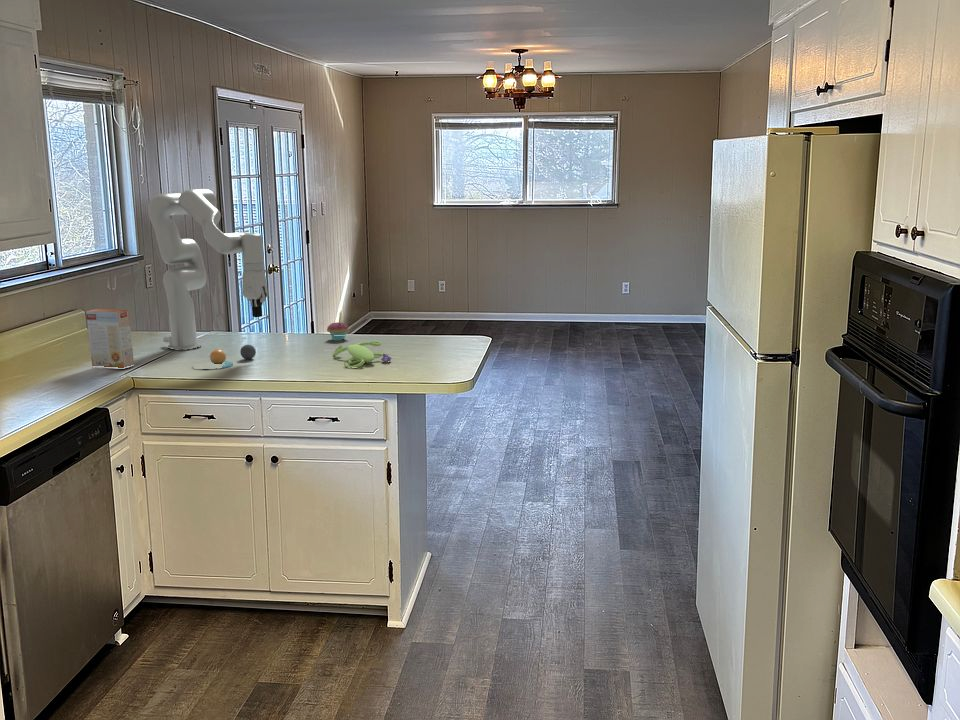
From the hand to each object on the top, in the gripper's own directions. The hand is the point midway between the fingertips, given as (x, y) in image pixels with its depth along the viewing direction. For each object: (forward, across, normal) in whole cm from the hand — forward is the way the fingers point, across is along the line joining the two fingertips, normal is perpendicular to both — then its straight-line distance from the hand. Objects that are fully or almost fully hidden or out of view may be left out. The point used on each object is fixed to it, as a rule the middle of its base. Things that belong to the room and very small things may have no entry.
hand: (257, 316), depth 328 cm
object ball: (+12, 0, -18) cm, 21 cm away
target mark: (+15, 0, -20) cm, 25 cm away
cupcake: (+15, -2, +39) cm, 42 cm away
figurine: (+16, +34, +21) cm, 43 cm away
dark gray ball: (+12, +1, -6) cm, 14 cm away
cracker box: (+15, -26, -44) cm, 53 cm away
